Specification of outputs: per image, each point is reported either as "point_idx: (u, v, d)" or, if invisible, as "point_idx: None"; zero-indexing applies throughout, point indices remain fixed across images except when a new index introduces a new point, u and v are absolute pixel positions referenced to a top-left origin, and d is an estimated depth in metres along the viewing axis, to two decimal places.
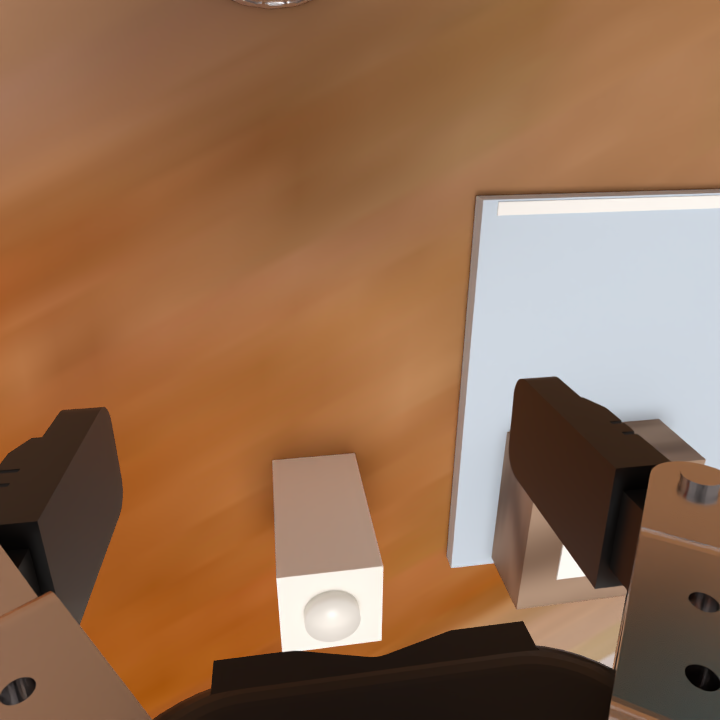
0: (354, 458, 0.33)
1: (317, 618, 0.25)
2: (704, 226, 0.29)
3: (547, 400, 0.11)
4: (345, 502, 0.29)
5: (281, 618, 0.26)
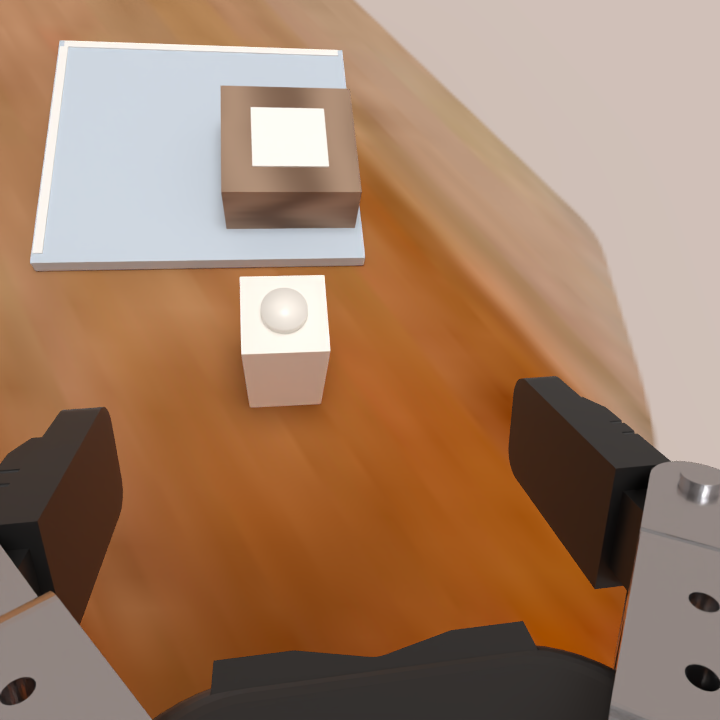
0: None
1: (278, 319, 0.31)
2: (71, 127, 0.43)
3: (547, 400, 0.11)
4: None
5: (287, 351, 0.31)
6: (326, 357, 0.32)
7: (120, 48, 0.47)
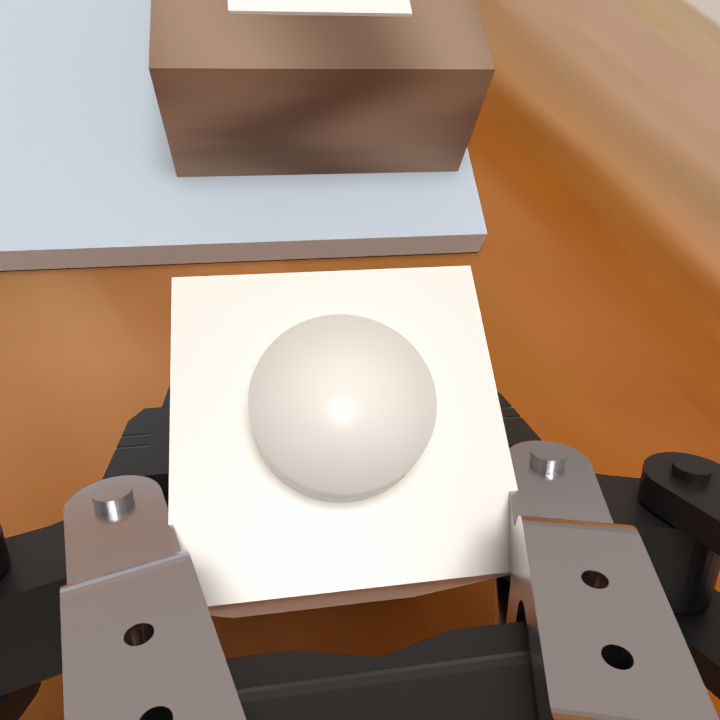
0: None
1: (322, 450, 0.07)
2: None
3: None
4: None
5: (364, 581, 0.07)
6: (502, 575, 0.08)
7: None
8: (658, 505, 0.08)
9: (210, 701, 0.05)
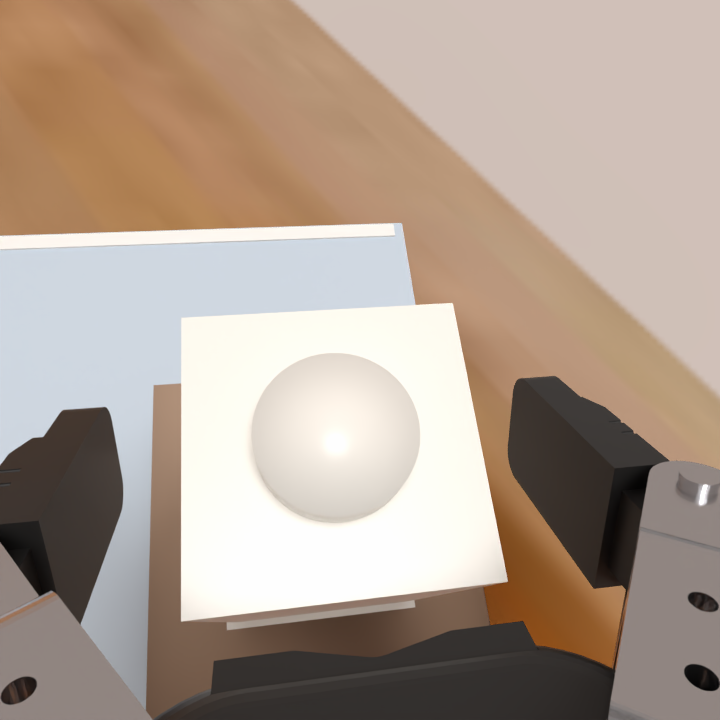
0: None
1: (317, 477, 0.08)
2: None
3: (546, 400, 0.11)
4: None
5: (355, 594, 0.08)
6: (481, 586, 0.09)
7: None
8: None
9: None
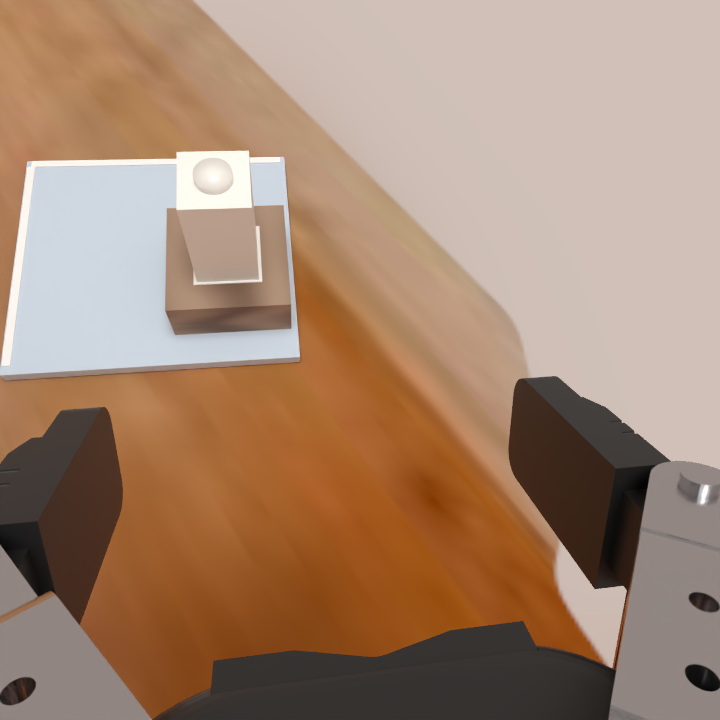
0: None
1: (207, 181, 0.37)
2: (37, 244, 0.49)
3: (547, 400, 0.11)
4: None
5: (215, 207, 0.37)
6: (250, 216, 0.38)
7: (81, 166, 0.52)
8: None
9: None
